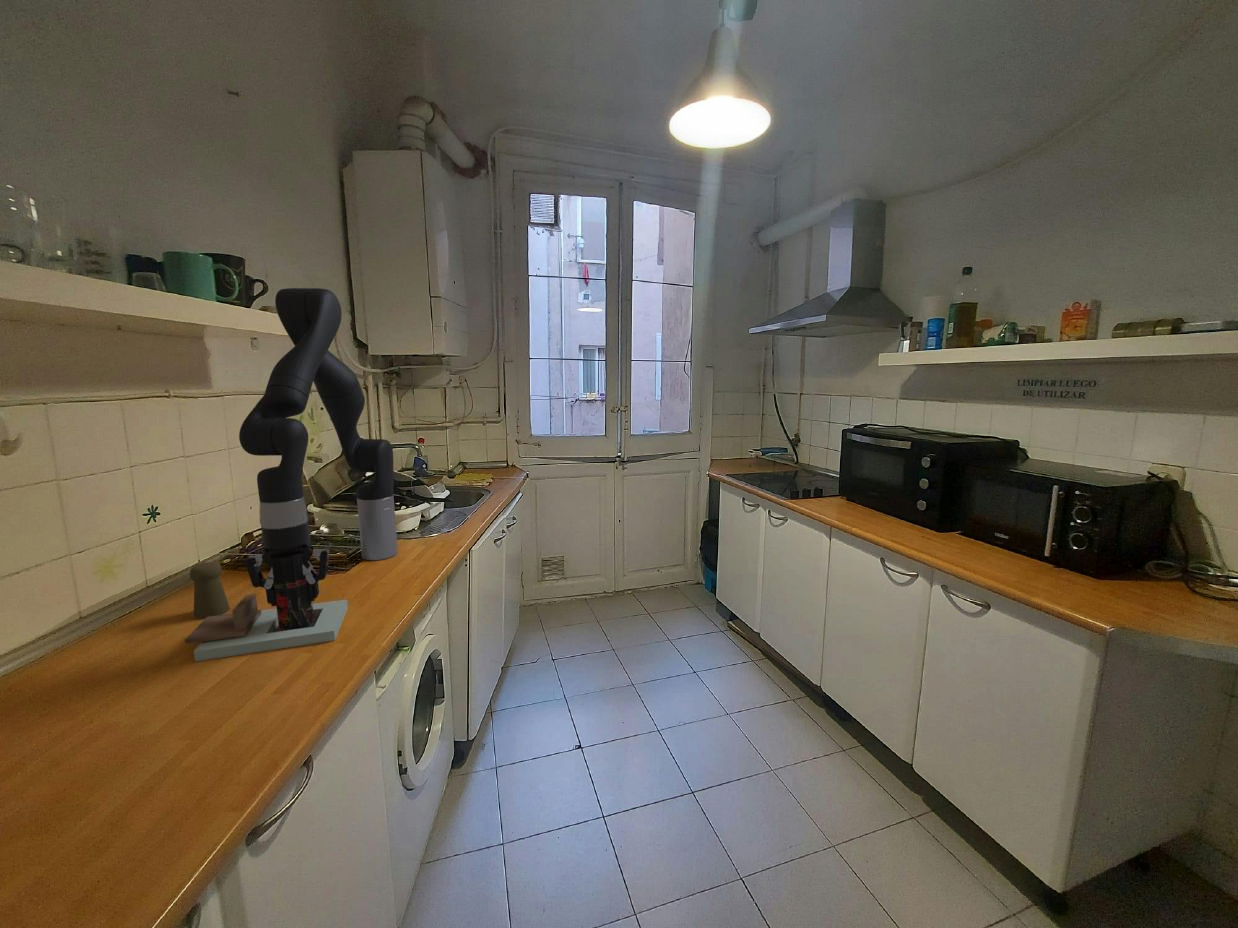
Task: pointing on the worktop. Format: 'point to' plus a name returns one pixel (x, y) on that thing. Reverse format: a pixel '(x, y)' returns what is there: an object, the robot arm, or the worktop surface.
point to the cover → (228, 622)
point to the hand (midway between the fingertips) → (294, 601)
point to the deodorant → (291, 592)
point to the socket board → (278, 633)
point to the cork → (208, 590)
